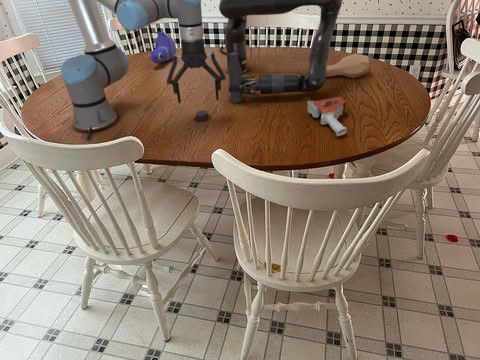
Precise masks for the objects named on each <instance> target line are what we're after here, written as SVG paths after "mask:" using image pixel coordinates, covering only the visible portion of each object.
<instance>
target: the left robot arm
mask: <svg viewBox="0 0 480 360" xmlns="http://www.w3.org/2000/svg"><path fill="white" fill-rule="evenodd" d="M68 3H69V6H70V8H71V11H72V14H73V16H74V18H75V21H76V23H77V26H78V28H79V31H80V34H81V36H82V39H83V41H84V43H85V46H84V49H83V53H84V54H78V55H76V56H72V57H70V58H67V59H66V60H64V61H63V62H62V64H61V66H60V72H61V77H62V80H63V82H64V84H65V87H66V90H67V93H68V95H69V99H70V101H71V104H72V108H73V114H72V117H73V118H72V119H73V125H74V128H75V129H76V131H78V132H84V133H87V136H86V140H90V138H91V134H92V132H99V131H102V130H105V129H107V128H110V127H111V126H113V125H115V124H116V122H117V121H118V116H117V113H116V111H115V110H114V108H113V107H112V105H111V103H110V102H109V101H108V99H107V96H106V92H105V89H106V88H107V87H110V86H111V85H113V84H115V83H116V82H118V81H120V80H122V79H123V78H124V77H125V76H126V75H127V74H128V71H129V68H130V67H129V66H130V63H129V62H130V61H129V58H128V56H127V54H126V52H125V51H123V49H122V48H121V47H119V46H117V43H116V42H115V41H114V40H112V39H111V38H110V36H109V33H108V31H107V30H108V29H107V27H106V24H105V22H104V20H103V17H102V14H101V10H100V8H99V6H98V3H99V4H100V5H102V6H103V7H104V8H106V9H108V10H109V11H110V12H112V13H113V14H115V15H116V19H117V21H118V23H119V24H120V25H121V27H122V28H123V29H125V30H127V31H130V32H131V31H136V30H137V31H138V30H141V29H144V28H145V27H146V26H148V25H151V24H153V23H156V22H158V21H160V20H163V19H174V20H176V19H177V22H178V29H179V38H180V39H181V40H180V47H181V55H179V54H176V53H175V54H174V55H173V57H172V64H171V67H170V70H169V71H168V76H167V78H166V84H167V85H172V91H173V94H174V95H175V94H176V95H177V103H178V104H182V103H181V102H182V99H181V92H180V86H179V85H180V84H179V81H180V79H181V78H182V76H183V75H184V74H185V72H186V71H187V70H188V68H189V69H200V68H201V67H202V68H203V69H204V70H205V71H206V72H207V73H208V74H210V76H211V77H212V78H214V88H215V98H216V99H215V100H216V101H219V99H220V97H219V91H222V81H225V80H226V79H227V78H226V74H225V72H224V70H223V69H222V67H221V66H220V64H219V62H218V60H217V59H216V56H215V51H210V52H209V53H207V52H206V49H205V47H206V46H205V39H204V35H205V34H204V24H203V15H202V14H203V13H202V0H68ZM207 59H208V60H209V61H211V62H212V65H213V66H214V68H215V69H216V71H217V72H218V73H217V72H216V71H214V70H213V68H212V67H211V66H210V65H209V64H208V63H207V62H206V60H207ZM180 61H182V62H183V64H182V66H181V67H180V68H179V70H178V72H177V73H176V75H175V76H174V73H175V71H176V68H177V65H178V63H180ZM218 74H219V75H218Z"/></svg>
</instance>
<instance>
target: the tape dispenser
mask: <svg viewBox="0 0 480 360" xmlns="http://www.w3.org/2000/svg"><path fill="white" fill-rule="evenodd" d="M329 102H331V105H328V106H326V103H329ZM346 105H347V103H346V100H345V99H344V98H343V97H342V96H333V97H331V98H329V97H328V98H325V99H320V100H315V101H314V100H308V101H307V113H308V114H311V116H312V118H319V117H320V125H329V127H330V128H331V129H332V130H333V132H334V133H335V136H336V137H340V136H344V135H345V134H346V133H347V131H348V128H347V127H345V126H344V125H343V124H342V123H340V121H338V119H339V117H340V116H343V115H344V113H345V110H346Z"/></svg>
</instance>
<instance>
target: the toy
mask: <svg viewBox="0 0 480 360" xmlns="http://www.w3.org/2000/svg"><path fill="white" fill-rule="evenodd" d="M154 34H155V35H156V34H157V36H156V40H155V43H154V44H155V45H154V49H153V50H150V53H149V59H150V60H151V61H152V62H153V63H154V64H156V66H157V68H160V63H164V62H168V61H170V60H171V59H173V55H174V54H176V53H177V46H176V43H175V41H174V39H173V38H172V36H171V35H167V34H166V33H165V32H164V31H162V30H161V31H154Z"/></svg>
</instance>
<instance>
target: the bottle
mask: <svg viewBox="0 0 480 360" xmlns="http://www.w3.org/2000/svg"><path fill="white" fill-rule="evenodd" d="M242 77H243V75H242V73H241V67H240V64H239V61H238V53H236V52H233V53H230V64H229V73H228V85H229V84H230V86H237V85H238V87H239V85H242ZM229 95H230V102H231V103H233V104H234V103H235V104H236V103H242V102H243V101H244V99H243V98H244V96H243V95H244V94H240V92H229Z"/></svg>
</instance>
